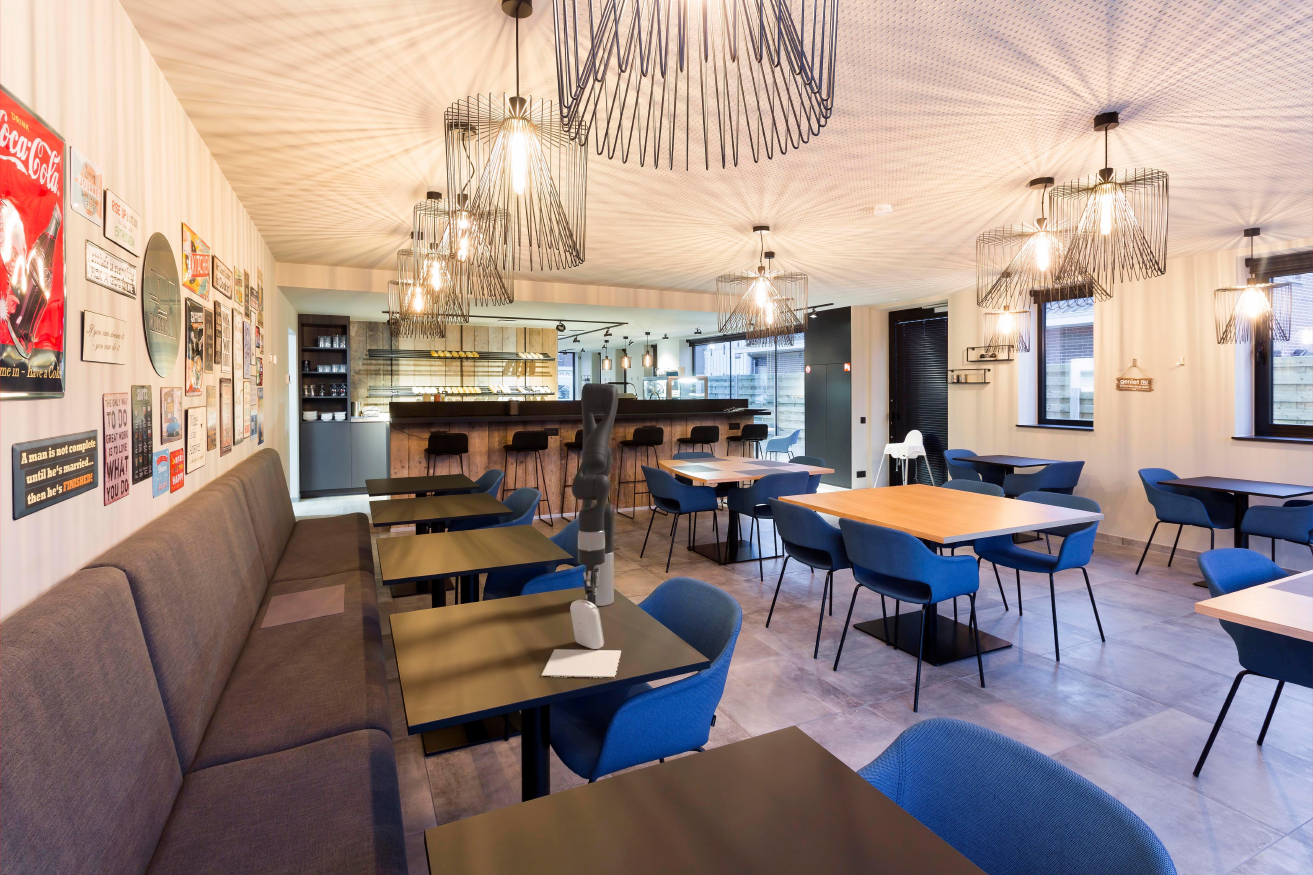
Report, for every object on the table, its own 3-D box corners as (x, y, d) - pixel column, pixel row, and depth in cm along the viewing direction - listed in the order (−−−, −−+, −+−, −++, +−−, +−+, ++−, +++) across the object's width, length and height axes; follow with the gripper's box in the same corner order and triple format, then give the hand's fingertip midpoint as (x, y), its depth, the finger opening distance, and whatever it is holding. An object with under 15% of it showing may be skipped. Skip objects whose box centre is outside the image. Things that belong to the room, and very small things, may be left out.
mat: (554, 650, 170) (554, 649, 170) (621, 652, 169) (621, 650, 169) (541, 676, 154) (541, 674, 154) (615, 678, 153) (615, 676, 153)
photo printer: (573, 642, 176) (566, 599, 175) (586, 637, 179) (579, 594, 178) (593, 651, 168) (586, 606, 167) (606, 645, 171) (600, 601, 170)
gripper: (581, 540, 182) (581, 599, 183) (574, 551, 169) (574, 615, 170) (607, 540, 182) (607, 600, 183) (602, 551, 169) (602, 615, 170)
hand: (591, 607), depth 176 cm, fingers closed
